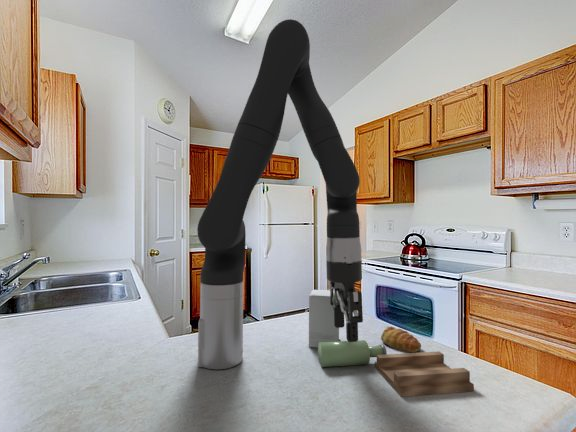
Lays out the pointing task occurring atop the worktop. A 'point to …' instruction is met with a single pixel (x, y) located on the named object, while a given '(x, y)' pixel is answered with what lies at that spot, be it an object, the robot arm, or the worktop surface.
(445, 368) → the cradle
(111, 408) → the worktop surface
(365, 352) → the bottle
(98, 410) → the worktop surface
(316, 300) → the supplement box
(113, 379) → the worktop surface
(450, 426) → the worktop surface
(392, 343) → the pastry
